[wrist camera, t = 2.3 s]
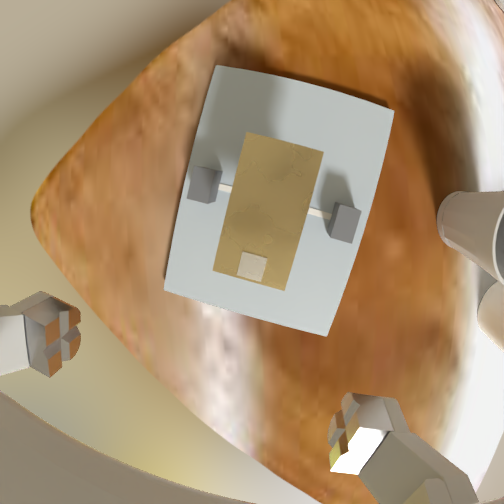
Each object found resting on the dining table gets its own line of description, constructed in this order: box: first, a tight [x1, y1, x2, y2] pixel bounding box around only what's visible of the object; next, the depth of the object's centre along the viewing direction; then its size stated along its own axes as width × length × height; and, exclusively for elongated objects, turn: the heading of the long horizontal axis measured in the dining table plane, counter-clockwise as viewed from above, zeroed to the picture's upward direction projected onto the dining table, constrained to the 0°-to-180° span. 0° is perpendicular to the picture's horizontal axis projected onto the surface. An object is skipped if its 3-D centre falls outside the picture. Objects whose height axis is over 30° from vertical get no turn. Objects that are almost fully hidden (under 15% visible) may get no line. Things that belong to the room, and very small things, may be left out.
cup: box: [437, 191, 504, 285], centre depth 23 cm, size 8×8×12 cm
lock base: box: [164, 65, 394, 336], centre depth 27 cm, size 24×18×7 cm
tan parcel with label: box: [212, 132, 324, 291], centre depth 21 cm, size 9×5×5 cm, turn 166°
